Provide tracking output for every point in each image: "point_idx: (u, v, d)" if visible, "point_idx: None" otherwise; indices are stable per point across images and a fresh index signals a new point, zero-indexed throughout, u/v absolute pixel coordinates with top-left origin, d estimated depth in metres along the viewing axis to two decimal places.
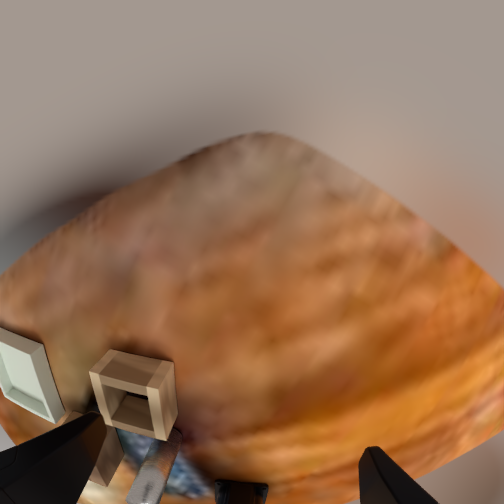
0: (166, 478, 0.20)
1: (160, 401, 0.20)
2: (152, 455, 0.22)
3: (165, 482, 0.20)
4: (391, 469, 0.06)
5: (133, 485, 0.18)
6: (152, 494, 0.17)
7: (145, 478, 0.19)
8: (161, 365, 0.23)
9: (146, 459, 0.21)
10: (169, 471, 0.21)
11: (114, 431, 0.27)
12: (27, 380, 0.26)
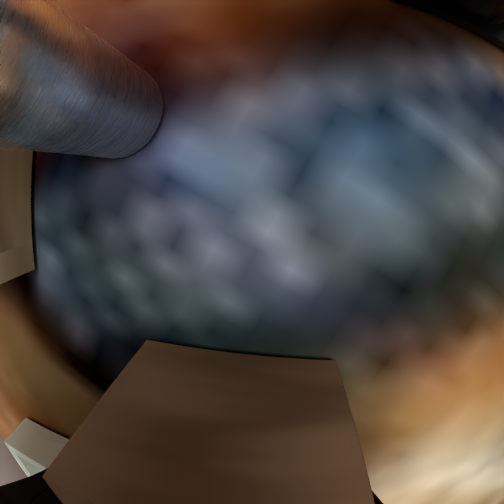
0: None
1: None
2: None
3: None
4: None
5: None
6: None
7: None
8: None
9: None
10: None
11: (166, 349, 0.09)
12: None
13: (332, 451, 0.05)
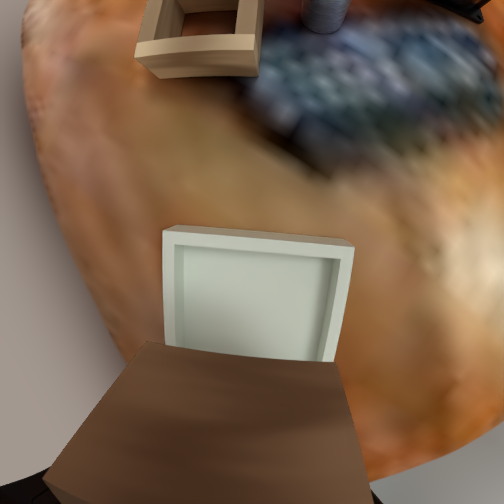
0: None
1: None
2: None
3: None
4: None
5: None
6: None
7: None
8: None
9: None
10: None
11: (165, 351, 0.09)
12: (272, 314, 0.18)
13: (332, 453, 0.05)
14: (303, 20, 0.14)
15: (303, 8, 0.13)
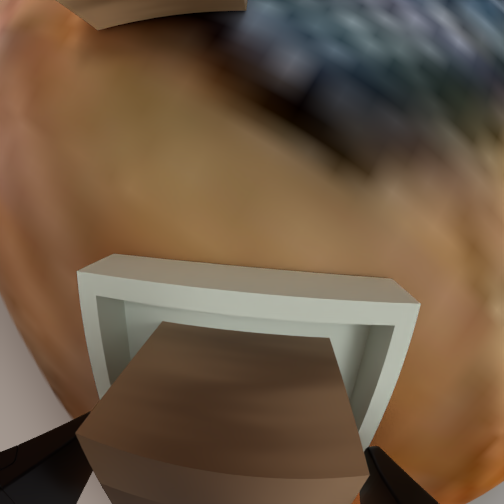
0: None
1: None
2: None
3: None
4: (391, 469, 0.06)
5: None
6: None
7: None
8: None
9: None
10: None
11: (180, 328, 0.10)
12: None
13: (325, 407, 0.06)
14: None
15: None
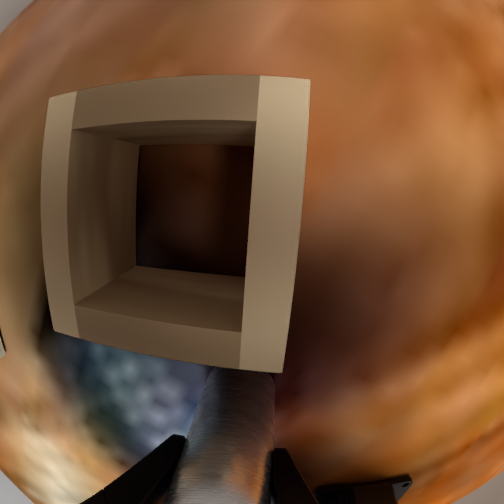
0: None
1: (306, 145, 0.06)
2: (211, 443, 0.07)
3: None
4: (289, 475, 0.06)
5: None
6: None
7: None
8: None
9: (191, 459, 0.06)
10: (270, 490, 0.06)
11: None
12: None
13: None
14: (222, 367, 0.11)
15: (222, 386, 0.09)
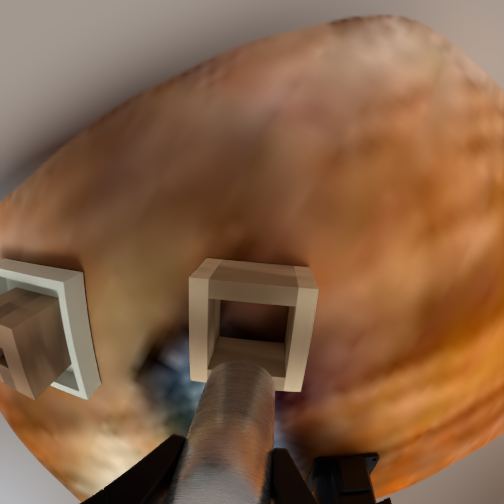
0: None
1: (314, 313, 0.15)
2: (211, 443, 0.07)
3: None
4: (289, 475, 0.06)
5: None
6: None
7: None
8: (297, 269, 0.17)
9: (191, 459, 0.06)
10: (270, 490, 0.06)
11: None
12: None
13: (48, 378, 0.17)
14: (222, 367, 0.11)
15: (222, 386, 0.09)
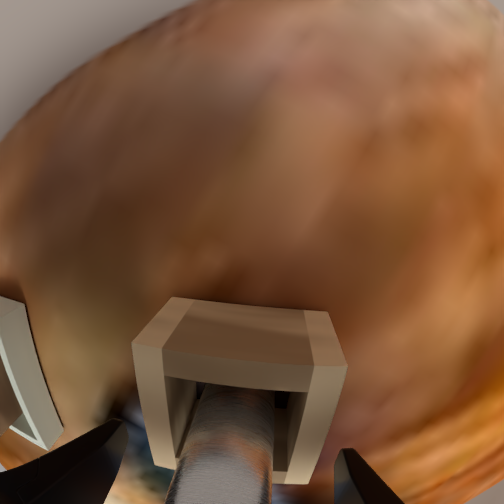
0: (271, 481, 0.06)
1: (336, 399, 0.08)
2: (219, 414, 0.08)
3: (270, 494, 0.06)
4: (364, 472, 0.06)
5: None
6: None
7: (212, 493, 0.05)
8: (309, 318, 0.11)
9: (201, 428, 0.08)
10: (272, 458, 0.07)
11: None
12: None
13: None
14: None
15: None
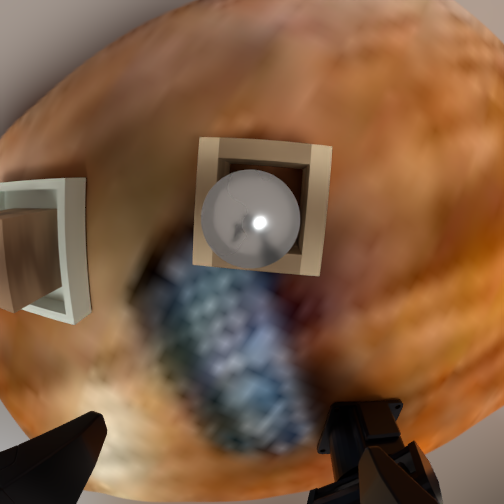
0: None
1: (329, 174, 0.14)
2: None
3: None
4: (391, 469, 0.06)
5: None
6: None
7: None
8: None
9: None
10: None
11: (56, 219, 0.18)
12: None
13: (32, 292, 0.16)
14: None
15: None
